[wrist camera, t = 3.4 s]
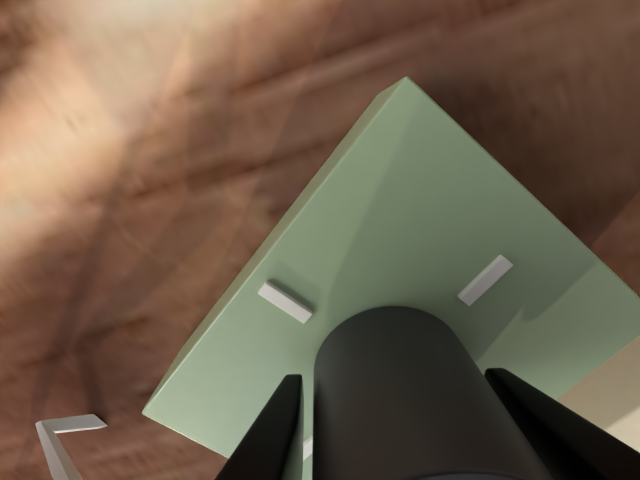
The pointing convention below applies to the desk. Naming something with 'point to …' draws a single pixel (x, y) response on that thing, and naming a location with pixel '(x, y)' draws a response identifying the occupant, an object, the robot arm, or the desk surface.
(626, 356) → the button base
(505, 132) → the desk surface
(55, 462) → the white block with legs
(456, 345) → the dial
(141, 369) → the desk surface
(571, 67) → the desk surface
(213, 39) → the desk surface
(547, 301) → the console
